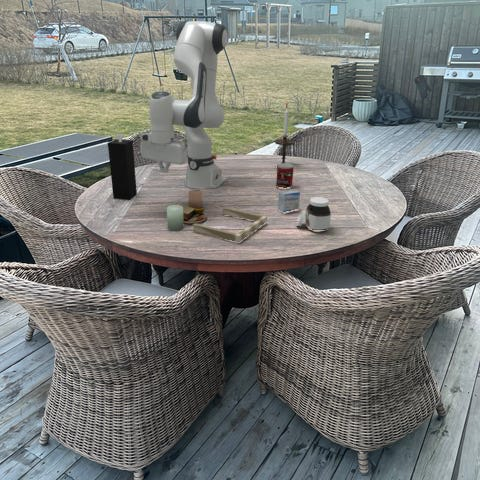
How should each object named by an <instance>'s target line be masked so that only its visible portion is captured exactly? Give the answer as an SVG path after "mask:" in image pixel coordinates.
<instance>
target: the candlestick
mask: <svg viewBox="0 0 480 480" xmlns="http://www.w3.org/2000/svg"><path fill="white" fill-rule="evenodd" d="M288 104H289V103H286V105H285V106H286V108H285V110H284V123H283V135H281V137H282V138H280V139H279V138H278V139H275V140H274V144H275V145H279V146H282V152H281V156H282V157H281V160H282V162H281V163H286V159H287V157H286V156H287V152H286V148H287V146H294V145H295V143H296V141H295V140H293V139H290V138H289V136H288V125H289V122H288V121H289V110H288V109H289V107H288ZM288 138H289V139H288Z"/></svg>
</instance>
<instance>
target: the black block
mask: <svg viewBox="0 0 480 480" xmlns="http://www.w3.org/2000/svg"><path fill="white" fill-rule="evenodd" d="M116 137H117V139H113V140H110V141H109V142H108V141H107V150H108V159H109V167H110V178H111V189H112V196H113V197H112V199H114V200H122V201H123V200H124V201H131V200H132V199H134V197H136V196H137V195H138V192H137V191H138V190H137V177H136V166H135V154H134V153H135V152H134V140H133V139H123V137H124V134H121V133H116Z"/></svg>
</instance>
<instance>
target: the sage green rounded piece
mask: <svg viewBox="0 0 480 480" xmlns="http://www.w3.org/2000/svg"><path fill="white" fill-rule="evenodd" d="M180 205H181V204H171V205H168V206H167V207H166V216H167V217H166V220H167V229H168V230H169V231H174V232H176V231H177V232H178V231H182V230H183V229H185V228H184V227H185V224H184V220H183V207H182V206H180Z"/></svg>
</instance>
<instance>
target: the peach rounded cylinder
mask: <svg viewBox="0 0 480 480" xmlns="http://www.w3.org/2000/svg"><path fill="white" fill-rule="evenodd" d="M203 194H204V192H203V189H190V190H188V206H189V207H192V208H195V209H202V208H204V195H203Z"/></svg>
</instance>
